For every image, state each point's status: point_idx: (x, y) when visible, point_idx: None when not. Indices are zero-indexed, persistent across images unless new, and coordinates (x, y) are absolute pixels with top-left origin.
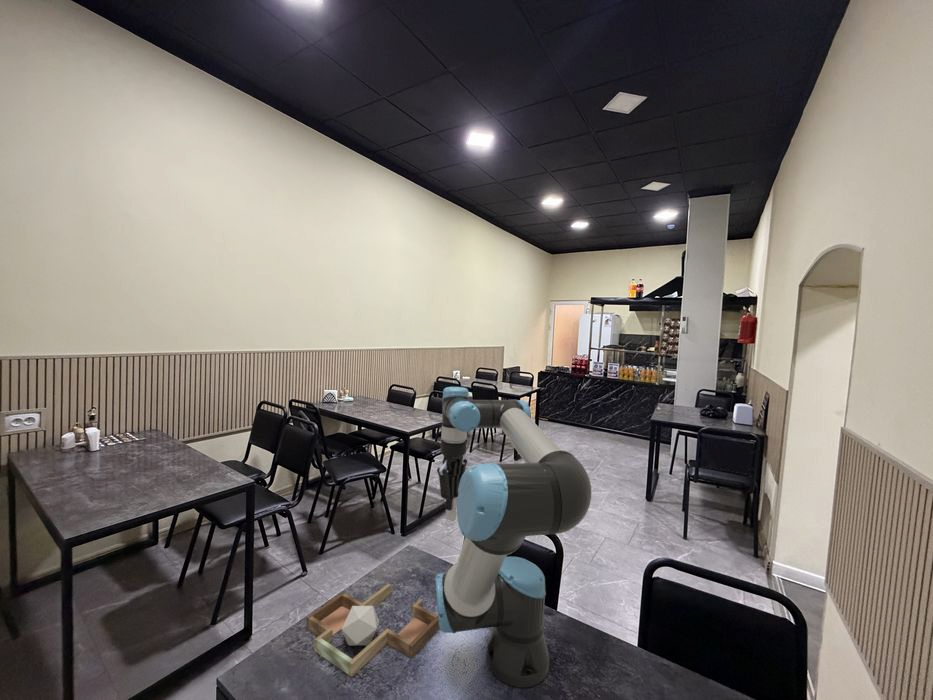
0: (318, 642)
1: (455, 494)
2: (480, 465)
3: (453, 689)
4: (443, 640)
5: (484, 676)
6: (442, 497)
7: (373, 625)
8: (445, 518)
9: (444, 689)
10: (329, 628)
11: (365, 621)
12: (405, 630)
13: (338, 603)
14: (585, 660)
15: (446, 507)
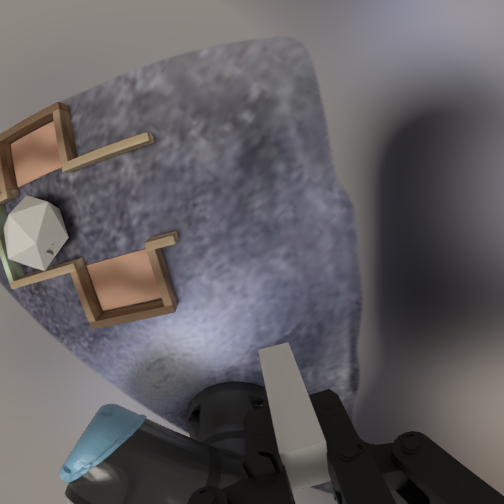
0: None
1: (335, 493)
2: None
3: (127, 391)
4: (164, 327)
5: (175, 405)
6: (196, 499)
7: (38, 267)
8: (258, 351)
9: (117, 384)
10: (4, 192)
11: (21, 262)
12: (117, 264)
13: (50, 117)
14: None
15: (244, 429)
